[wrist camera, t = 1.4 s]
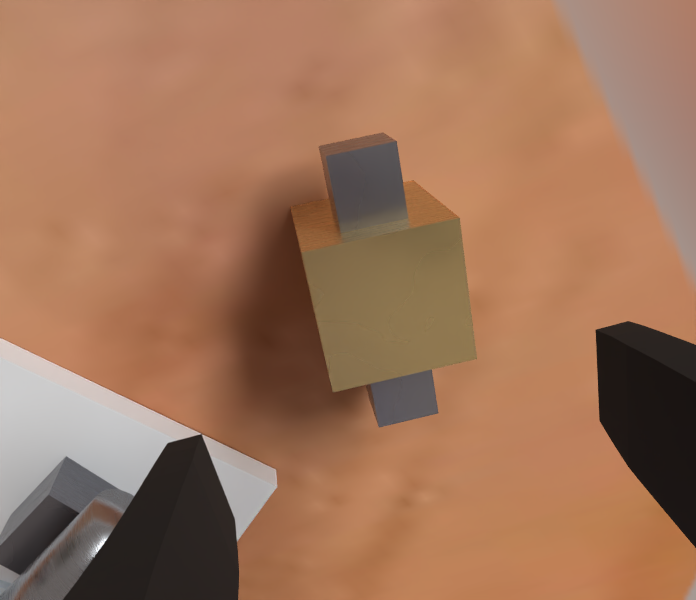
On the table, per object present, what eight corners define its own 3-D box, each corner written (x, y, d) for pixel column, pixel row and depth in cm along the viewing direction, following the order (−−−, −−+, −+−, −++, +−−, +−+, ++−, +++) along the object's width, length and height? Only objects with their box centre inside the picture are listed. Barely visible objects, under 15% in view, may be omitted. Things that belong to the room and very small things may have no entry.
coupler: (404, 116, 20) (449, 136, 15) (437, 346, 23) (484, 420, 18) (276, 143, 20) (283, 172, 15) (327, 371, 23) (346, 453, 18)
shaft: (95, 425, 21) (57, 515, 17) (192, 489, 22) (178, 586, 18) (-17, 543, 22) (-77, 655, 18) (83, 597, 23) (48, 712, 19)
